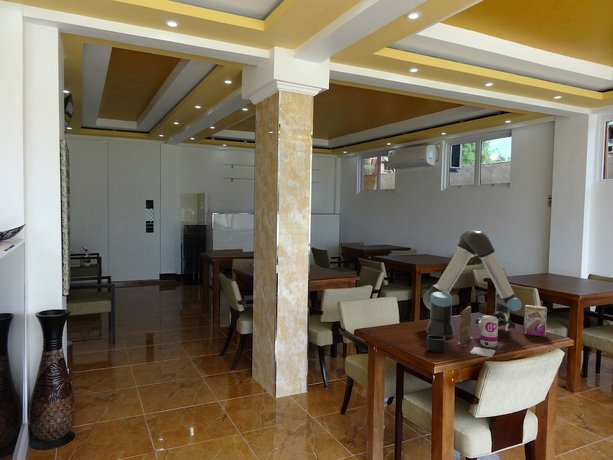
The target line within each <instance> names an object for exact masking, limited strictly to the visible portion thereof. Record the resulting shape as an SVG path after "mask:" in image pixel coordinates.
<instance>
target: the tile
mask: <svg viewBox="0 0 613 460" xmlns="http://www.w3.org/2000/svg"><path fill="white" fill-rule="evenodd" d="M469 353H471V355H475V354H477V356H482V357H488V358H492V357H493V356H494V355H495V353H496V349H490V348H484V347H483V348H482V347H478V346H477V347H476V346H474V347H473V348H472V349H471V350H470V351H469Z"/></svg>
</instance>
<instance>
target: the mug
mask: <svg viewBox="0 0 613 460" xmlns="http://www.w3.org/2000/svg"><path fill="white" fill-rule="evenodd" d="M426 349H427V350H428V351H430V352H431V351H432V352H431V353H434V352H440V353H442V352H444V351H448V350H449V344H448V342H447V341H446V338H445V337H443V336H440V335H428V334H427V336H426Z"/></svg>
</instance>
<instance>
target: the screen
mask: <svg viewBox="0 0 613 460" xmlns="http://www.w3.org/2000/svg"><path fill="white" fill-rule="evenodd" d="M471 317H472V306H470V305H469V306H467V307H465V308H464V309H463V310H462V311H461V312H460V318H459V319H460V321H459V323H460V324H459V341H458V343H457V344H456V345H457V347H460V348H466V347H467V346H468V344H467V343H468V342H469V341H473V338H474V337H473V336H471V325H472V324H471V322H472V318H471Z"/></svg>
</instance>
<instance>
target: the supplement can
mask: <svg viewBox="0 0 613 460" xmlns="http://www.w3.org/2000/svg"><path fill="white" fill-rule="evenodd" d="M480 318H481V327H480V344H481V345H482V346H484V347H487V348H496V346H498V334H499V332H498V329H499V326H498V320H497V317H495V316H493V315H487V314H486V315H482V317H480Z"/></svg>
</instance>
